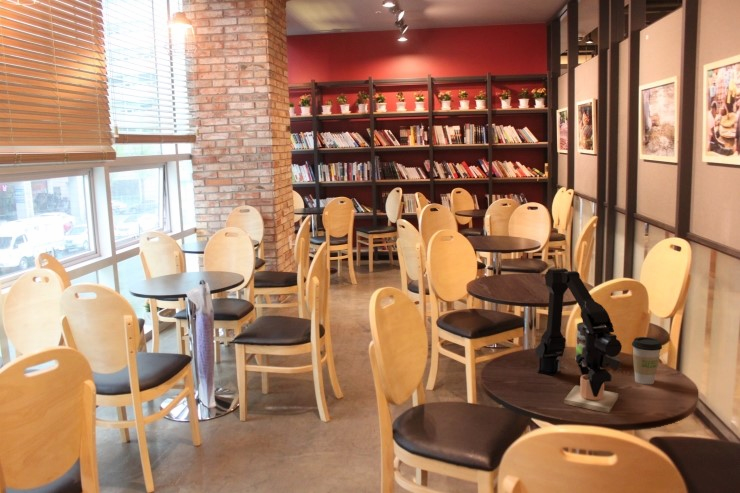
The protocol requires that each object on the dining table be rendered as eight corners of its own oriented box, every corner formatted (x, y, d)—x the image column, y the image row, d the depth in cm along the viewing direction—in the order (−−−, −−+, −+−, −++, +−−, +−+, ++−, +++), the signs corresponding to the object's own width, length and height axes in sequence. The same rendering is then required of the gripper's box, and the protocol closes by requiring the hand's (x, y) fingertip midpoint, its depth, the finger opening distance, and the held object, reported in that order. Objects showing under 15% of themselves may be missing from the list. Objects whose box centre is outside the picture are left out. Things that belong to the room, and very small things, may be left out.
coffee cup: (657, 388, 222) (660, 346, 219) (627, 383, 227) (629, 342, 224) (661, 379, 230) (664, 339, 227) (632, 374, 235) (634, 334, 233)
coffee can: (582, 365, 244) (584, 330, 242) (571, 356, 254) (572, 322, 252) (608, 364, 245) (610, 328, 243) (595, 355, 256) (597, 321, 253)
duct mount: (564, 403, 210) (565, 384, 209) (575, 389, 222) (576, 371, 221) (608, 412, 203) (609, 393, 202) (618, 397, 214) (619, 379, 213)
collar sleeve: (583, 399, 209) (584, 382, 207) (577, 391, 216) (578, 374, 215) (606, 399, 208) (607, 382, 207) (599, 391, 215) (600, 374, 214)
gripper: (629, 356, 200) (626, 403, 202) (609, 337, 218) (607, 381, 221) (593, 356, 200) (590, 403, 203) (576, 337, 218) (574, 381, 221)
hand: (591, 392), depth 212 cm, fingers closed on collar sleeve, 7 cm apart
